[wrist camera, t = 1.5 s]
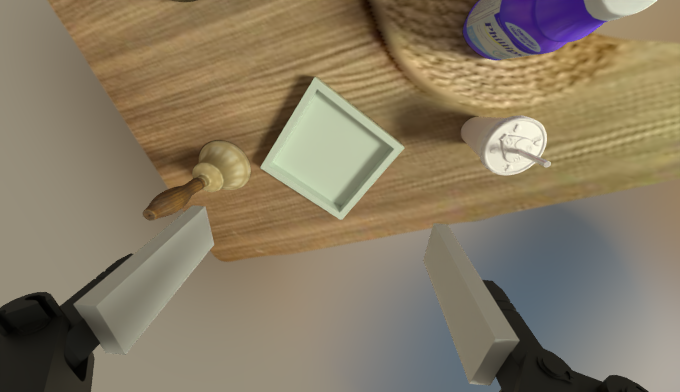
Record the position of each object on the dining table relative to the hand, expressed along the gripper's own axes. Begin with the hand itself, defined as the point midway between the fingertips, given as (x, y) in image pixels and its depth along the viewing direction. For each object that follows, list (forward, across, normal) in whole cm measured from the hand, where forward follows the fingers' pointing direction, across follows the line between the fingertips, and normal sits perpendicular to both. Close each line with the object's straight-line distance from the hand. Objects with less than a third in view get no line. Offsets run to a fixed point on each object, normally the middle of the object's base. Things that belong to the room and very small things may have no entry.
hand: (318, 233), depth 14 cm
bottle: (+25, +17, +14) cm, 33 cm away
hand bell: (+24, -18, -6) cm, 31 cm away
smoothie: (+24, +19, +2) cm, 31 cm away
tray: (+24, -1, -3) cm, 24 cm away
